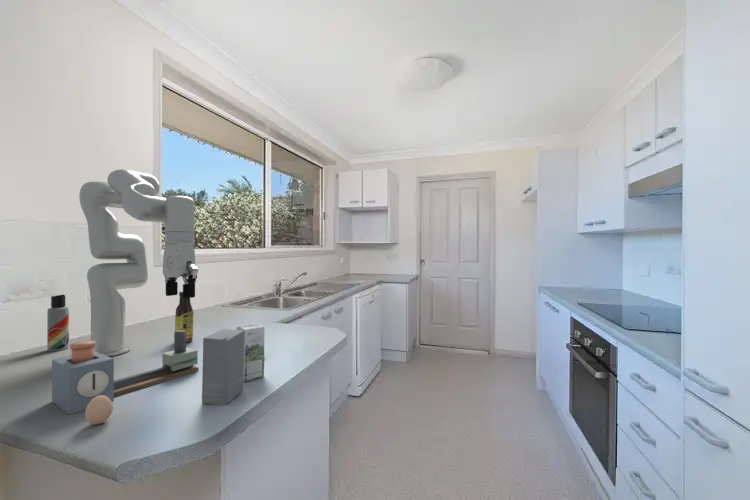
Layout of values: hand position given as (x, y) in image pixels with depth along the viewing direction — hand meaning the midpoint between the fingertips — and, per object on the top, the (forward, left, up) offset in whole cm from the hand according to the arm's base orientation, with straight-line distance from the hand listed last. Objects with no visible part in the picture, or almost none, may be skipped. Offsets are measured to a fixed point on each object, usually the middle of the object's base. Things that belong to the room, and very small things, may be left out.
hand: (180, 296), depth 98 cm
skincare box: (+27, -3, -23) cm, 35 cm away
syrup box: (+21, +9, -23) cm, 32 cm away
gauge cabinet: (0, -22, -22) cm, 32 cm away
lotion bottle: (-62, -11, -23) cm, 67 cm away
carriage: (0, 0, -20) cm, 20 cm away
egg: (+16, -24, -23) cm, 37 cm away
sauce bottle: (-33, +19, -23) cm, 44 cm away
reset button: (0, -22, -12) cm, 26 cm away
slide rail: (0, -7, -22) cm, 23 cm away
